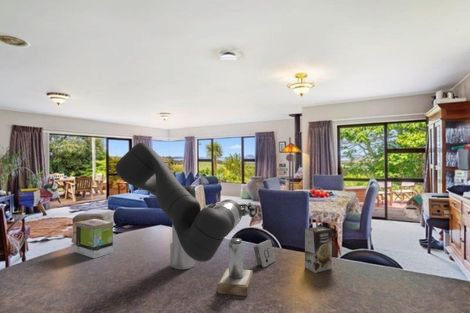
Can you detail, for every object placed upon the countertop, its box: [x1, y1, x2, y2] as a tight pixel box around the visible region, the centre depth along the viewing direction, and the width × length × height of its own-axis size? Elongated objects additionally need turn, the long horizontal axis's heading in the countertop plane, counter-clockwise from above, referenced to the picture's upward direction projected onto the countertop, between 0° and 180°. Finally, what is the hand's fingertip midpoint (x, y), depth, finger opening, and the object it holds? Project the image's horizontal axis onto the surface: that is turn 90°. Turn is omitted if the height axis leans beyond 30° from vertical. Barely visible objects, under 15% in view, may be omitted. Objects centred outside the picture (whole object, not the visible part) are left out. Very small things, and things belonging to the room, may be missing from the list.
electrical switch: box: [253, 239, 276, 268], centre depth 117 cm, size 9×5×9 cm, turn 141°
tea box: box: [75, 218, 114, 259], centre depth 130 cm, size 15×10×15 cm, turn 58°
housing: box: [228, 237, 244, 280], centre depth 97 cm, size 5×5×13 cm
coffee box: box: [304, 226, 333, 274], centre depth 112 cm, size 9×6×16 cm
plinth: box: [217, 267, 254, 297], centre depth 97 cm, size 10×13×3 cm
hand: (236, 205), depth 87 cm, fingers open, 8 cm apart
